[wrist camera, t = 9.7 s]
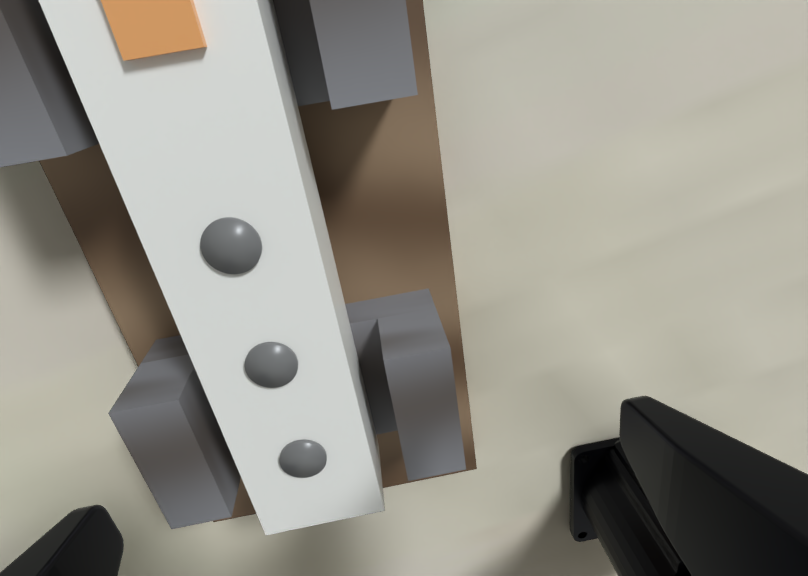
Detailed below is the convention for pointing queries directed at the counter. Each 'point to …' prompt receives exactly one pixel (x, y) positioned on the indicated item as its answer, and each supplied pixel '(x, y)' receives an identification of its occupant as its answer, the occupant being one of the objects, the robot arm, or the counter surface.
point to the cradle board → (346, 224)
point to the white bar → (233, 237)
